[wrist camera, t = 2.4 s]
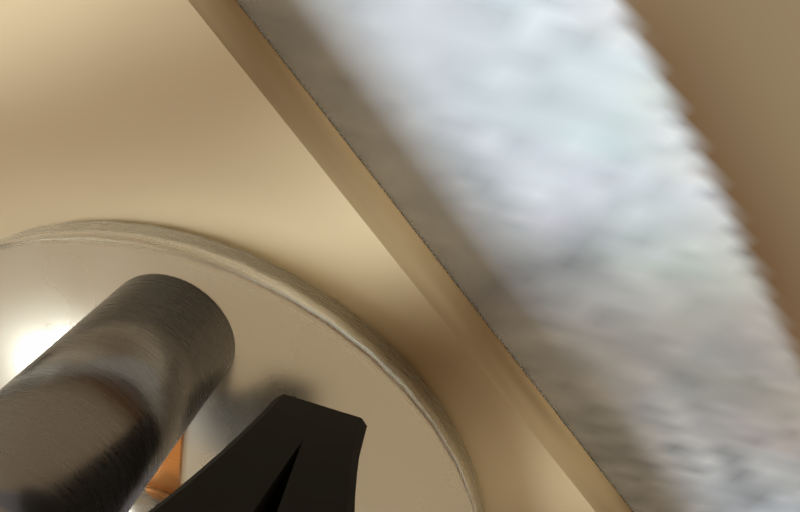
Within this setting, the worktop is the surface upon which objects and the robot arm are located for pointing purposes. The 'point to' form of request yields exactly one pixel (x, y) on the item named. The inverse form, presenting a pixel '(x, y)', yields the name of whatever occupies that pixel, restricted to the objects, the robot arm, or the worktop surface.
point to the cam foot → (191, 373)
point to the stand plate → (260, 203)
